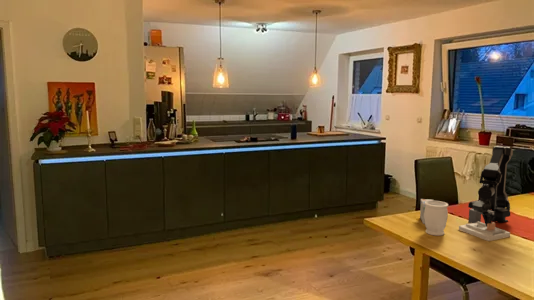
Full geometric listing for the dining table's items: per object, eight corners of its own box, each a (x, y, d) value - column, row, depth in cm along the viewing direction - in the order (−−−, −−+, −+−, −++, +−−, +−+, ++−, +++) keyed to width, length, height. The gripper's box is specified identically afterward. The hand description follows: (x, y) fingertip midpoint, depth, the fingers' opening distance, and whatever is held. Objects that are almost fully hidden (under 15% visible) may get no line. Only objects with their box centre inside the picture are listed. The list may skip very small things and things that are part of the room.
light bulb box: (436, 224, 212) (437, 204, 211) (422, 224, 214) (423, 204, 212) (432, 218, 223) (433, 199, 221) (419, 217, 224) (420, 198, 222)
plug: (473, 221, 217) (474, 208, 216) (480, 223, 214) (481, 210, 213) (468, 222, 216) (469, 209, 215) (474, 224, 212) (475, 211, 211)
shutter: (489, 227, 200) (490, 220, 199) (501, 232, 194) (502, 224, 193) (479, 229, 197) (480, 222, 197) (491, 234, 192) (492, 226, 191)
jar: (445, 230, 204) (447, 201, 201) (447, 237, 194) (449, 207, 192) (422, 228, 207) (424, 199, 205) (423, 235, 197) (424, 205, 195)
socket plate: (479, 225, 210) (479, 219, 209) (509, 236, 194) (510, 230, 194) (458, 229, 205) (459, 223, 204) (488, 241, 189) (489, 234, 189)
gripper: (460, 191, 200) (459, 222, 203) (495, 201, 183) (492, 235, 186) (477, 189, 205) (475, 219, 207) (512, 198, 187) (509, 231, 190)
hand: (487, 226), depth 197 cm, fingers closed
